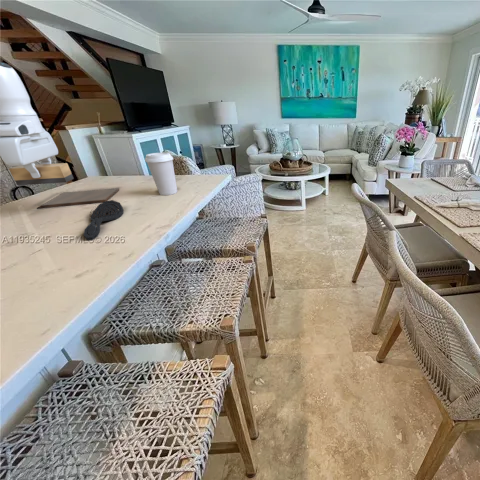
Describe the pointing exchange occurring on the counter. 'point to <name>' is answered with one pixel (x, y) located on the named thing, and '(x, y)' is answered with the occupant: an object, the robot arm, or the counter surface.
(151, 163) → the coffee cup
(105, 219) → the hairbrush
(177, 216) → the counter surface
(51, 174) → the scrub brush
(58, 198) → the walnut board
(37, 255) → the counter surface
